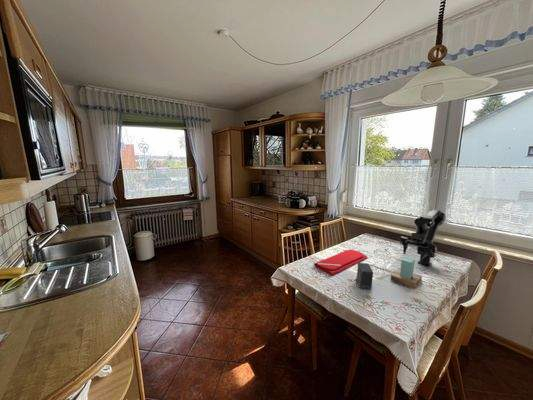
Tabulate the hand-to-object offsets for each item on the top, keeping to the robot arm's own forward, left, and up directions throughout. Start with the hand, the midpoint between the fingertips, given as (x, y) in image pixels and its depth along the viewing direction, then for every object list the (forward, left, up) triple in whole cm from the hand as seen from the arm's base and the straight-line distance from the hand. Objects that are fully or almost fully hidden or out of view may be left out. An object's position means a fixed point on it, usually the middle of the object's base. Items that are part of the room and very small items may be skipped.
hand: (412, 256), depth 131 cm
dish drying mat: (+14, -37, -14) cm, 42 cm away
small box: (+29, -14, -13) cm, 35 cm away
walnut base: (+7, 0, -13) cm, 15 cm away
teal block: (+7, 0, -10) cm, 12 cm away
